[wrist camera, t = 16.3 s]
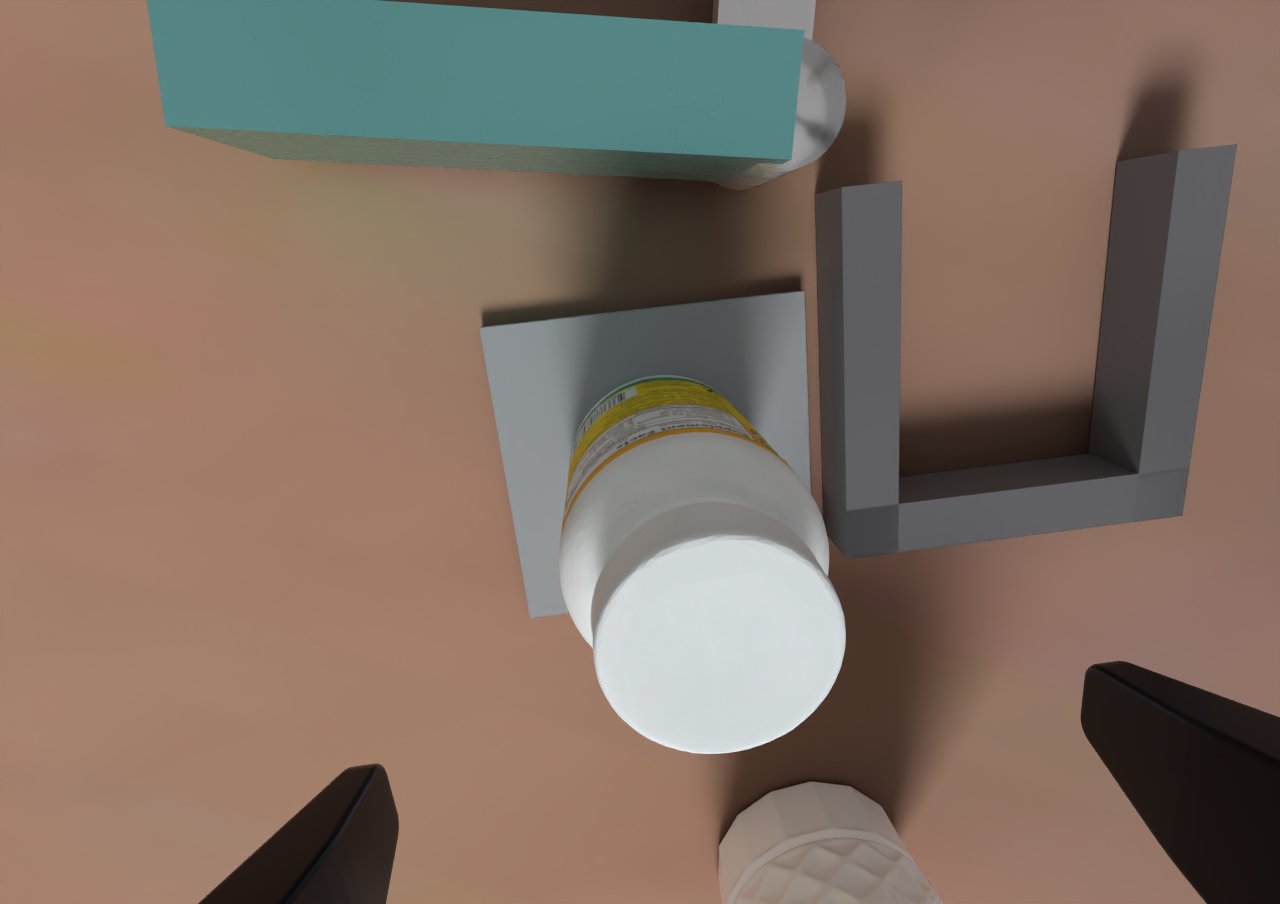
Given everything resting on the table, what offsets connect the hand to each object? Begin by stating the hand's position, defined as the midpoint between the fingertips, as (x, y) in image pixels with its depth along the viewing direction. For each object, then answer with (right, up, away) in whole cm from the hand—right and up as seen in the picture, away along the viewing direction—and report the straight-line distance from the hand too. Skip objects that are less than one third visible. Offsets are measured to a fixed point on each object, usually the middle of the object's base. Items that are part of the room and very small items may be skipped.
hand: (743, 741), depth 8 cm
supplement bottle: (-1, +3, +11) cm, 12 cm away
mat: (-1, +3, +11) cm, 12 cm away
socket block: (+9, +7, +11) cm, 16 cm away
